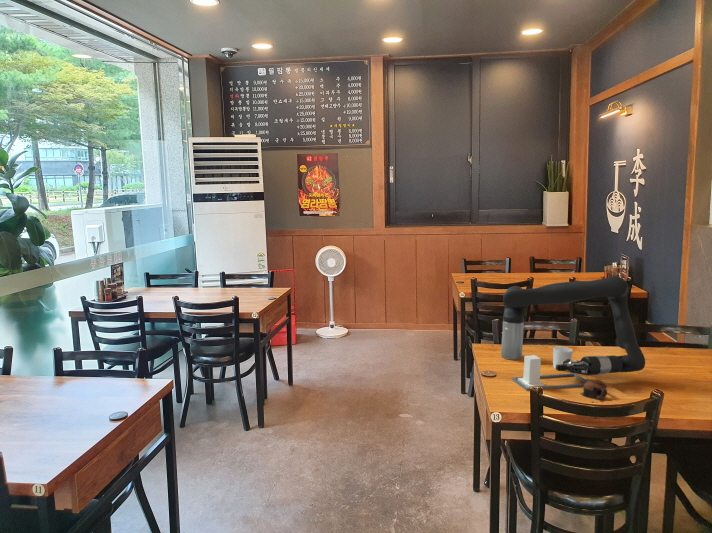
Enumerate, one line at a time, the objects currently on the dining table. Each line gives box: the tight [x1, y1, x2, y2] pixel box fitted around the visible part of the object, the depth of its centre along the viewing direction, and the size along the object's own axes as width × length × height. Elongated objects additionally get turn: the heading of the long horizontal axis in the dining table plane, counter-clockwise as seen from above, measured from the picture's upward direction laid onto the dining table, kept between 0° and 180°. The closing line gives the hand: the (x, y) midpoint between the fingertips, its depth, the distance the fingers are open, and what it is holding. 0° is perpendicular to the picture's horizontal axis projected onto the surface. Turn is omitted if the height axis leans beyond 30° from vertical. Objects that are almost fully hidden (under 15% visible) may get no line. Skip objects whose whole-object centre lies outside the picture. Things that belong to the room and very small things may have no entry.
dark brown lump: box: [579, 378, 608, 404], centre depth 199 cm, size 12×10×8 cm
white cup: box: [552, 346, 574, 370], centre depth 229 cm, size 8×8×10 cm
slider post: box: [518, 354, 546, 387], centre depth 209 cm, size 9×7×11 cm
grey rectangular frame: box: [511, 372, 586, 392], centre depth 212 cm, size 12×28×2 cm, turn 101°
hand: (556, 367), depth 211 cm, fingers closed
